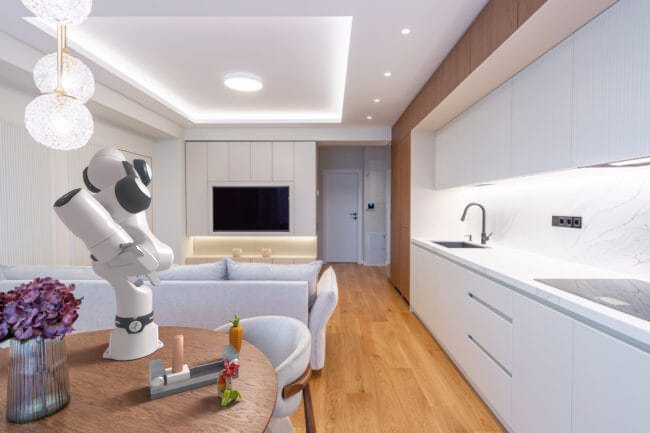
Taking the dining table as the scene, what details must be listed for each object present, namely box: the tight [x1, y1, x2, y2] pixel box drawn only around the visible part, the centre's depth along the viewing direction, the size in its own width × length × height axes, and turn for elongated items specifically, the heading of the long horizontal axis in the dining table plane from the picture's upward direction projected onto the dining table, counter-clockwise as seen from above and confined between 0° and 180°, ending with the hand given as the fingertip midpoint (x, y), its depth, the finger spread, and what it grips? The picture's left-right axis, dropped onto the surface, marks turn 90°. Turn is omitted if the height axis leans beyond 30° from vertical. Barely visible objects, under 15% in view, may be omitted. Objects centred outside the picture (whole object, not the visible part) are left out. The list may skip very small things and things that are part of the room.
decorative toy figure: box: [216, 360, 243, 408], centre depth 87 cm, size 6×11×9 cm
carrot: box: [228, 314, 244, 354], centre depth 111 cm, size 5×5×15 cm
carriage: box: [164, 334, 190, 385], centre depth 93 cm, size 6×6×13 cm
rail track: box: [148, 344, 240, 401], centre depth 95 cm, size 8×24×8 cm, turn 123°
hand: (149, 284), depth 87 cm, fingers open, 8 cm apart
